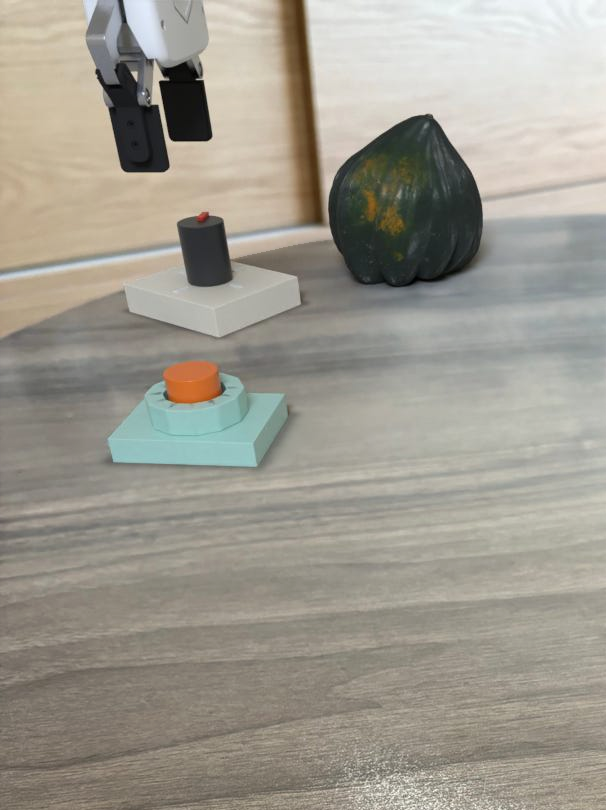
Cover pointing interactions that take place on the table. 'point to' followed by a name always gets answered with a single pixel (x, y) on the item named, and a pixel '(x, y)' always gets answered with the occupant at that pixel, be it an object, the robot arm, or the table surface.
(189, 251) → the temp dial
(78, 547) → the table surface
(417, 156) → the squash
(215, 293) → the grey base plate
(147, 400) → the switch block
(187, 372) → the power button
